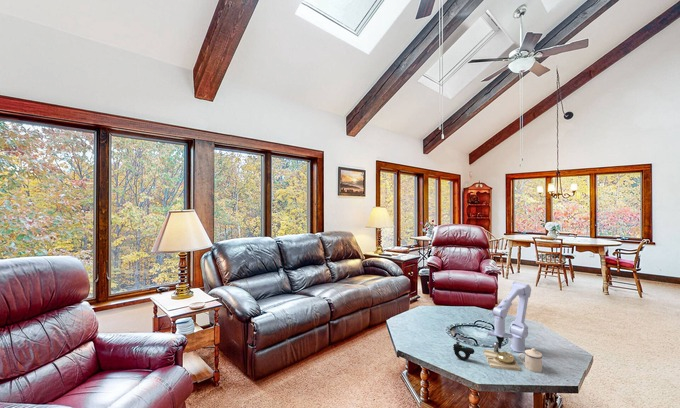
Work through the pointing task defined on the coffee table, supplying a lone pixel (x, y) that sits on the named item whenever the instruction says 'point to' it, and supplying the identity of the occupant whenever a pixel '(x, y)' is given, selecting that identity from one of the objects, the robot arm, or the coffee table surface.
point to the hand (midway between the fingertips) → (499, 347)
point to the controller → (464, 349)
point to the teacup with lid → (532, 360)
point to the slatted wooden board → (495, 363)
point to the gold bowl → (503, 355)
